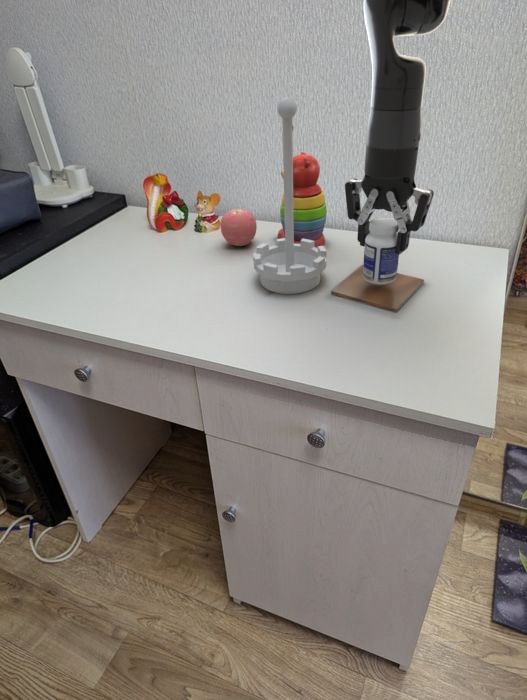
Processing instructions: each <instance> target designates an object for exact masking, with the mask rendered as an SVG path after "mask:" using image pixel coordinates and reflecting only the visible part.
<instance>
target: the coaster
mask: <svg viewBox="0 0 527 700" xmlns="http://www.w3.org/2000/svg"><path fill="white" fill-rule="evenodd" d="M424 283H425V279H424V278H420V277H416V276H411V275H407V274H403V273H399V272H397V277H396V279H395V280H394V281H393V282H392V283H389V284H385V285H377V284H372V283H369V282H367V281H366V280H365V279H364V278H363V264H361V265H360V266H359V267H358V268H357V269H355V270H354V271H353V272H351V274H349V275H348V276H347V277H345V278H344V280H342V281H341V282H340V283H339V284H337V285H336V286H335V287H334V288H333V289H331V290H330V294H331V295H333V296H337V297H341V298H344V299H348V300H350V301H351V300H352V301H355V302H358V303H362V304H365V305H369V306H373V307H376V308H379V309H382V310H386V311H389V312H394V313H398V311H399V310H400V309H401V308H402V307H403V306H404V305H405V304H406V302H407V301H408V300H409V299H410V298H411V297H412V296H413V295H414V294H415V293H416V292H417V291H418V289H420V287H421V286H422V285H424Z"/></svg>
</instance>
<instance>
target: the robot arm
mask: <svg viewBox="0 0 527 700" xmlns="http://www.w3.org/2000/svg"><path fill="white" fill-rule="evenodd" d="M451 1H452V0H363V16H364V23H365V29H366V34H367V39H368V45H369V50H370V51H369V52H370V58H371V71H372V80H371V81H372V82H371V96H370V97H371V99H370V110H369V116H368V120H367V126H366V127H367V128H366V143H365V157H364V168H363V169H364V176H363V179H358V178H356V177H354V178H352V179H350V180H349V181H347V182H345V183H344V194H345V203H346V213H347V218H348V219H349V220H354V221H355V222H356V223H357V238H356V239H357V242H358V243H359V246H360V247H365V238H366V236H367V235H368V234H369V233H370V231H369V223H370V219H372V216H373V214H374V213H375V210H378V211H380V210H384V211H386V212H389V213H392V215H393V219H395V220H396V221H397V224H398V227H399V230H398V232H397V234H398V235H397V243H396V254H399V255H401V254H402V253H404V252H405V251H406V250H408V248H409V247H410V239H411V232H418V231H419V230H420V229H421V228H422V227H423V226H424V225H425V223H426V219H427V217H428V213H429V210H430V208H431V204H432V201H433V198H434V194H435V193H434V190H432V189H427V190H426V189H422V188H419V187H417V185H416V182H415V175H416V171H417V160H418V154H419V147H420V141H421V137H422V134H421V132H422V131H421V129H422V108H423V107H422V106H423V99H424V91H425V84H426V75H427V66H426V63H425V61H424V60H423V59H422V58H419V57H417V56H409V55H404V54H400V53H399V51H398V50H397V48H396V45H395V42H394V40H395V39H394V37H411V36H424V35H428V34H431V33H433V32H434V31H435V30H437V29H438V28H439V27H440V26H441V25H442V24H443V23H444V22H445V20H446V18H447V15H448V12H449V9H450V5H451ZM362 191H363V193H364V195H365V197H366V198H367V199H366V201H365V203H364V205H363V207H361V195H360V194H361V193H362ZM412 197H414V203H415V205H417V206H416V209H415V211H414V215H413V218H412V217H411V208H410V205H409V202H408V201H409V200H410V199H411V198H412Z"/></svg>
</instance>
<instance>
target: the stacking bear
mask: <svg viewBox="0 0 527 700" xmlns="http://www.w3.org/2000/svg"><path fill="white" fill-rule="evenodd" d="M320 171H321V169H320V163H319V161H318V159H317V158H315V156H313V155H310V154H307V153H306V152H304V151H301V152H300V154H296V155H293V218H294V244H301V240H302V239H309V240H312V241H314V247H316V248H318V246H324V245H325V243H326V239H325V235H324V229H325V225H326V222H327V212H328V211H327V204H326V199H325V198H326V197H325V193H324V191H323V190H322V188H321V186H320V185H319V184H318V180H319V177H320V174H321V173H320ZM280 175H281V178H282V180H283V181H284V170H283V169H282V170H281V172H280ZM279 209H280V210H279V214H280V216H279V217H280V224H281V229H279V230H278V232H277V239H282V238H285V214H284V192H283V194H282V197H281V204H280V208H279Z"/></svg>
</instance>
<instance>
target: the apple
mask: <svg viewBox="0 0 527 700" xmlns="http://www.w3.org/2000/svg"><path fill="white" fill-rule="evenodd" d="M219 225H220V232H221V235H222V237H223V238H224V240H225V241H226V242H227V243H228V244H229V245H231V246H235V247H243V246H246V245H249V243H250V242H251V241H253V239H254V238H255V236H256V234H257V228H258V227H257V220H256V218H255V216H254V215H253V213H252V212H250V211H249V210H246V209H242V208H235V209H230V210H228V211H227V212H225V213H224V214H223V215H222V217H221V219H220V224H219Z"/></svg>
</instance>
